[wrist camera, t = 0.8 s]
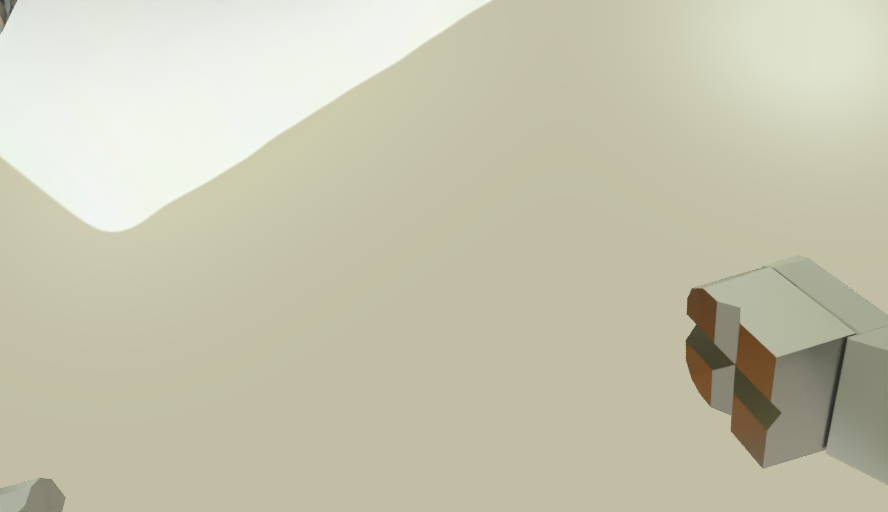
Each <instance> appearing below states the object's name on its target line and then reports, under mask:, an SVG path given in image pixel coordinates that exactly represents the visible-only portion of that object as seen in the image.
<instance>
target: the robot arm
mask: <svg viewBox="0 0 888 512" xmlns="http://www.w3.org/2000/svg"><path fill="white" fill-rule="evenodd" d="M687 315H688V316H689V317H690V318H691V319H692V320H693V321H694V322H695V323H696V326H695V327H694V329H693V330H692V332H691V334H690V335H689V336H688V338H687V340H686V361H687V365H688V368H689V372H690V375H691V378H692V381H693V382H694V384H695V386H696V388H697V389H698V391H699V393H700V394H701V396H702V397H703V398H704V399H705V400H706V402H707V403H708V404H709V405H710V407H712V408H715V409H717V410H720V411H722V412H724V413H727V414H729V415H731V432H732V433H733V434H734V435H735V436H736V438H737V439H738V440H739V441H740V442H741V444H742V445H743V446H744V447H745V448H746V450H747V451H748V452H749V453H750V454H751V455H752V457H753V458H754V459H755V460H756V461H757V462H758V464H759V465H760V466H761V467H762V468H766V467H769V466H773V465H777V464H780V463H783V462H786V461H790V460H793V459H797V458H800V457H803V456H807V455H810V454H813V453H817V452H820V451H823V450H826V454H828V455H830V456H832V457H833V458H835V459H837V460H840V461H841V462H844V463H845V464H847V465H849V466H851V467H853V468H855V469H857V470H859V471H861V472H863V473H865V474H867V475H869V476H871V477H873V478H875V479H877V480H879V481H881V482H883V483H885V484H887V485H888V315H887V314H886V313H884V312H883V311H881V310H880V309H879V308H877V307H876V306H875V305H873V304H872V303H870V302H869V301H868V300H866V299H865V298H863V297H862V296H861V295H859V294H858V293H856V292H855V291H854V290H852V289H851V288H849V287H848V286H847V285H845V284H844V283H842V282H841V281H840V280H838V279H837V278H835V277H834V276H833V275H831V274H830V273H828V272H827V271H826V270H824V269H823V268H822V267H820V266H819V265H817V264H816V263H815V262H813V261H812V260H810V259H808V258H805V257H801V256H794V257H791V258H788V259H785V260H782V261H778V262H775V263H772V264H769V265H766V266H763V267H762V268H760V269H755V270H752V271H748V272H745V273H742V274H738V275H735V276H732V277H728V278H725V279H722V280H718V281H715V282H712V283H708V284H705V285H701V286H698V287H695V288H692V289H691V292H690V294H689V296H688V298H687ZM64 501H65V496H64V495H63V494H62V492H61V491H60V490H59V488H58V487H57V486H56V484H55V483H54V482H53V481H52V480H51V479H44V478H38V479H35V480H31V481H27V482H24V483H20V484H16V485H12V486H8V487H4V488H1V489H0V512H62V509H63V505H64Z"/></svg>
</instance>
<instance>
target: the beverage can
mask: <svg viewBox="0 0 888 512" xmlns="http://www.w3.org/2000/svg"><path fill="white" fill-rule="evenodd" d="M16 2H17V0H0V34H1V32H2V31H3V29H4V27H5V24H6V22H7V20H8V18H9V16H10V14H11V12H12V10H13V8H14V6H15V4H16Z"/></svg>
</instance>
